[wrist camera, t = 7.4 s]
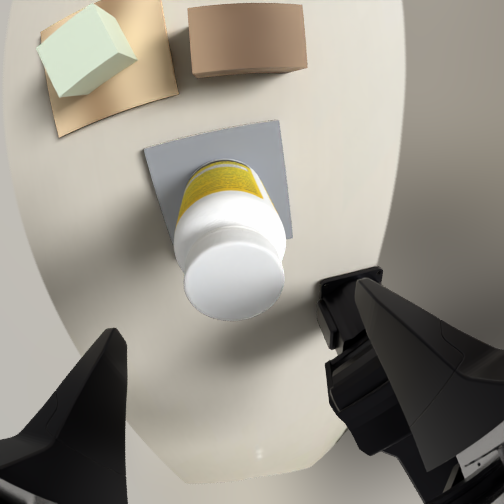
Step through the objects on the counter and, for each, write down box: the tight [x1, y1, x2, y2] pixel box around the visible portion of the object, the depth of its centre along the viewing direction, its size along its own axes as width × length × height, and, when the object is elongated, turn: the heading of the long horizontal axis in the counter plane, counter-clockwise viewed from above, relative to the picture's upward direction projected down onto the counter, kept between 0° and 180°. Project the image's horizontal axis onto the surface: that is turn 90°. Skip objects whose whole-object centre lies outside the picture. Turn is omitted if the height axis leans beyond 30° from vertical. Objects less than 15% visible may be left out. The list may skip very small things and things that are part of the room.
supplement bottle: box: [174, 159, 286, 321], centre depth 15 cm, size 5×5×10 cm
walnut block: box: [188, 3, 307, 78], centre depth 13 cm, size 6×4×4 cm, turn 94°
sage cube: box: [36, 3, 138, 97], centre depth 11 cm, size 4×4×4 cm
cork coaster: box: [41, 0, 179, 137], centre depth 13 cm, size 9×9×1 cm
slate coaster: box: [144, 120, 293, 247], centre depth 19 cm, size 9×9×1 cm
